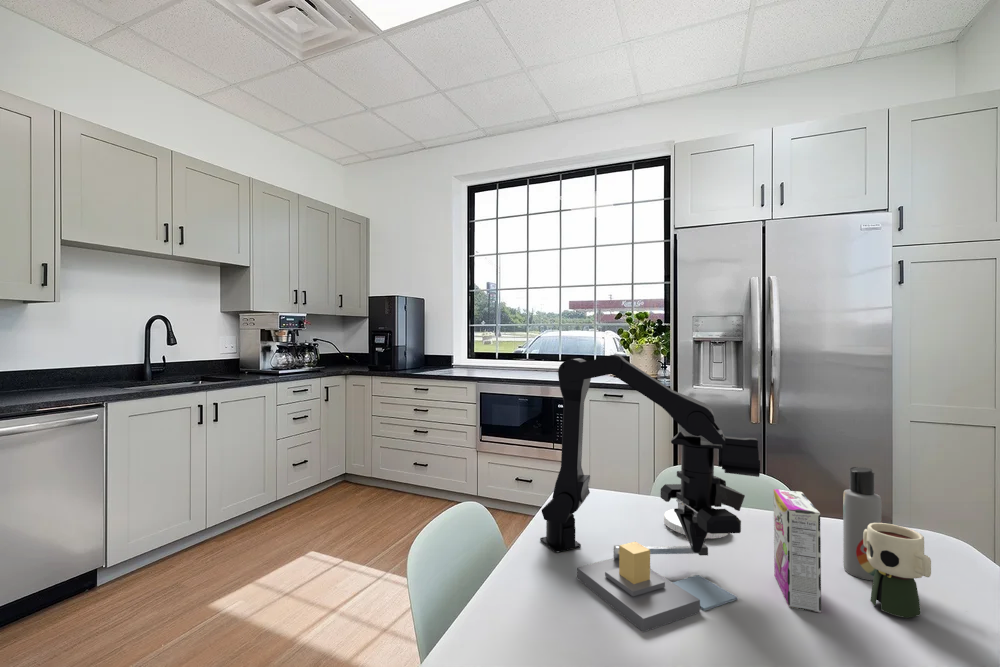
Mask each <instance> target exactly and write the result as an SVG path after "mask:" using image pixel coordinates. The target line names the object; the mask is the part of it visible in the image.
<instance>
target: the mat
mask: <svg viewBox="0 0 1000 667" xmlns="http://www.w3.org/2000/svg"><path fill="white" fill-rule="evenodd" d="M671 582H672V581H671ZM672 583H674V584H675V585H677V586H679V587H680V588H682V589H683V590H685V591H687V592H688V593H690V594H691V595H693V596H695V597H696V598H698V599H699V600H700V610H702V611H703V612H704V611H708V610H710V609H714V608H717V607H719V606H720V607H721V606H722V605H726V604H727V603H730V602H733V601H736V600H738V596H737V595H735V594H733V593H731V592H729V591H728V590H726V589H724V588H722V587H721V586H719V585H717V584H716V583H714V582H712V581H710V580H708V579H706V578H705V577H703V576H702V575H700V574H697V575H694V576H690V577H686V578H683V579H680V580H677V581H673V582H672Z"/></svg>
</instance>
